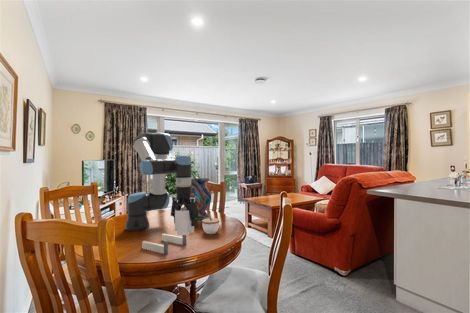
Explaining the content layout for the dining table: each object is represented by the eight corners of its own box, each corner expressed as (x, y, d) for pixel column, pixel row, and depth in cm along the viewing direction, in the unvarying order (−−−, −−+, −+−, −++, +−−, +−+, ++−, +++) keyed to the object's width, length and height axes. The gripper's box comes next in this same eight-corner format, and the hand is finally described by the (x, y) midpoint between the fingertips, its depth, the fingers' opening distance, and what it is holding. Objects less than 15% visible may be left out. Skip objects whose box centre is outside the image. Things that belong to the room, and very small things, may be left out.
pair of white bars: (141, 248, 123) (141, 237, 123) (164, 239, 137) (163, 229, 137) (165, 254, 115) (165, 242, 115) (187, 244, 129) (187, 233, 129)
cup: (176, 230, 123) (176, 207, 124) (194, 230, 124) (193, 206, 124) (173, 236, 114) (173, 211, 115) (192, 235, 115) (192, 210, 115)
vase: (184, 220, 180) (183, 180, 180) (192, 214, 198) (191, 178, 198) (207, 220, 177) (207, 180, 177) (214, 214, 195) (213, 177, 195)
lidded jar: (217, 235, 142) (216, 219, 142) (199, 235, 144) (199, 219, 144) (221, 230, 152) (221, 215, 152) (205, 229, 154) (205, 215, 155)
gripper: (162, 186, 122) (163, 230, 121) (195, 187, 111) (196, 236, 111) (173, 184, 128) (173, 226, 128) (205, 185, 118) (206, 232, 118)
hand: (184, 231), depth 119 cm, fingers closed on cup, 9 cm apart
